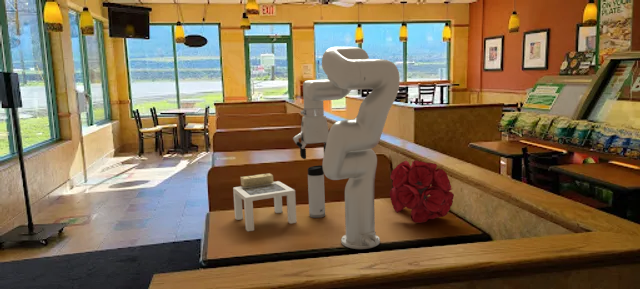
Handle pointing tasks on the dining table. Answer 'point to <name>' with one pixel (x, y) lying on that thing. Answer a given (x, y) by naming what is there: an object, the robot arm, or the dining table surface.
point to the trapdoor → (258, 181)
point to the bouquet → (421, 190)
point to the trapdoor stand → (249, 199)
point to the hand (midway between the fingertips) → (315, 157)
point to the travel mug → (316, 191)
